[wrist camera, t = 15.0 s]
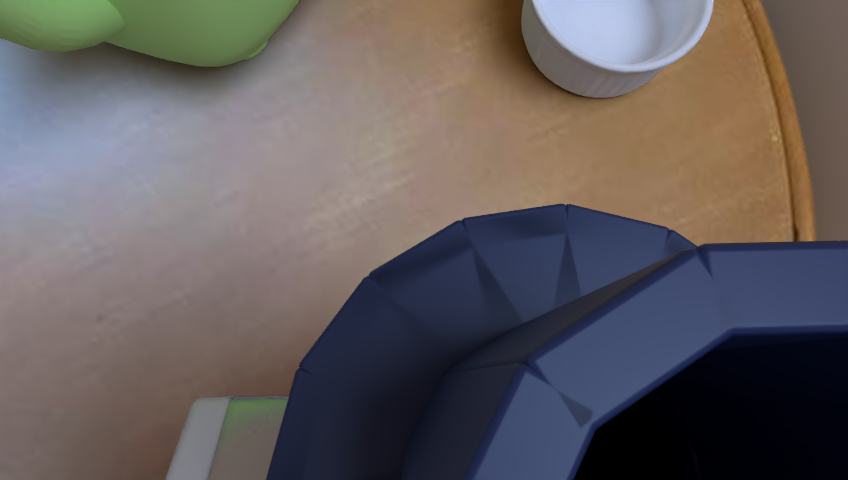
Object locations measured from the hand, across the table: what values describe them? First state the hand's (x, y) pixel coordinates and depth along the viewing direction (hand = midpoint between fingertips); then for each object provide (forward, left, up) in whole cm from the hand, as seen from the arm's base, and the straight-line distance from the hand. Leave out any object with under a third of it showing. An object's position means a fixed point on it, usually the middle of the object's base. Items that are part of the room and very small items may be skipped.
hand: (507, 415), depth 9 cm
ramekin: (+13, -16, -20) cm, 29 cm away
